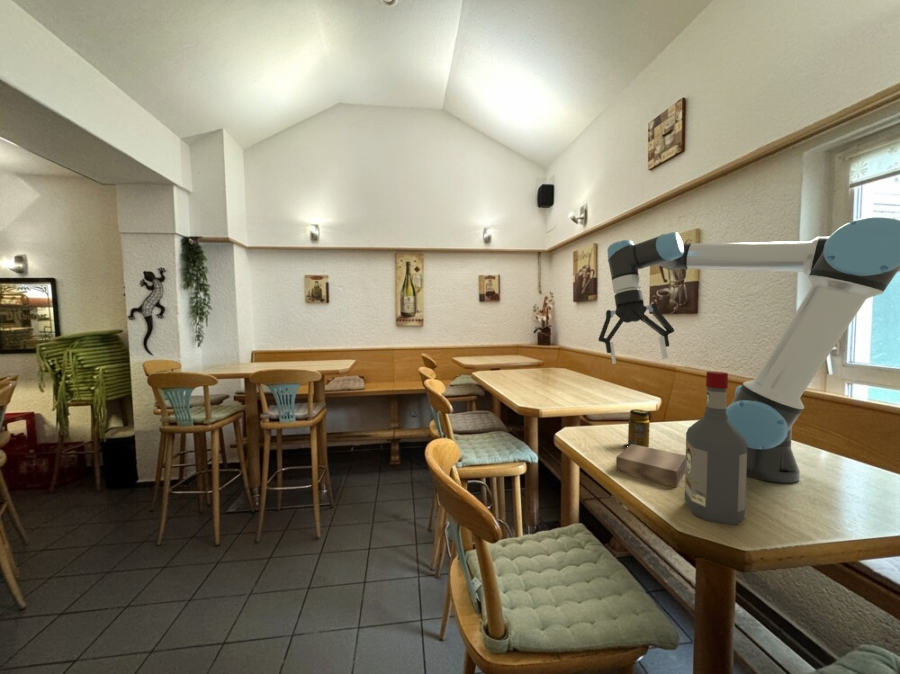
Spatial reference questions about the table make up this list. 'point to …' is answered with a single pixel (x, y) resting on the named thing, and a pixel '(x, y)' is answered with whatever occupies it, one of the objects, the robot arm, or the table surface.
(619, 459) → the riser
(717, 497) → the liquor
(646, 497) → the table surface
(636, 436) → the condiment
